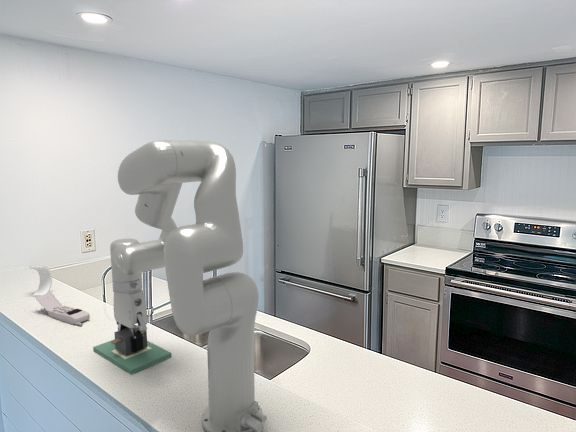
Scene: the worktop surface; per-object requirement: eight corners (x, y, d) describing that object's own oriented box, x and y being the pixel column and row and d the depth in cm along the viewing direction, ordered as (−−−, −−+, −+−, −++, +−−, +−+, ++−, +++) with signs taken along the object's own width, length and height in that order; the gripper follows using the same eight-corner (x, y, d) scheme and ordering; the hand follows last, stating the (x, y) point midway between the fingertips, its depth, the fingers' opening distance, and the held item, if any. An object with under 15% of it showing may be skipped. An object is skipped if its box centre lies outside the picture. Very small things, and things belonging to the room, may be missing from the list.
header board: (171, 357, 116) (170, 342, 115) (131, 374, 107) (130, 359, 106) (132, 336, 129) (131, 323, 128) (93, 350, 120) (92, 337, 119)
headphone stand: (32, 297, 163) (29, 266, 162) (42, 291, 169) (39, 262, 168) (43, 297, 163) (41, 267, 161) (53, 292, 169) (50, 262, 167)
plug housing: (147, 347, 118) (146, 330, 117) (119, 358, 112) (117, 340, 111) (136, 341, 122) (135, 324, 121) (108, 352, 115) (107, 334, 115)
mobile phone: (50, 292, 152) (94, 304, 140) (52, 307, 153) (95, 321, 140) (33, 297, 147) (77, 310, 134) (35, 313, 148) (78, 328, 135)
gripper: (157, 287, 112) (161, 351, 115) (123, 275, 123) (127, 334, 126) (131, 295, 106) (135, 362, 109) (98, 281, 117) (103, 343, 120)
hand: (131, 346), depth 117 cm, fingers closed on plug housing, 5 cm apart
